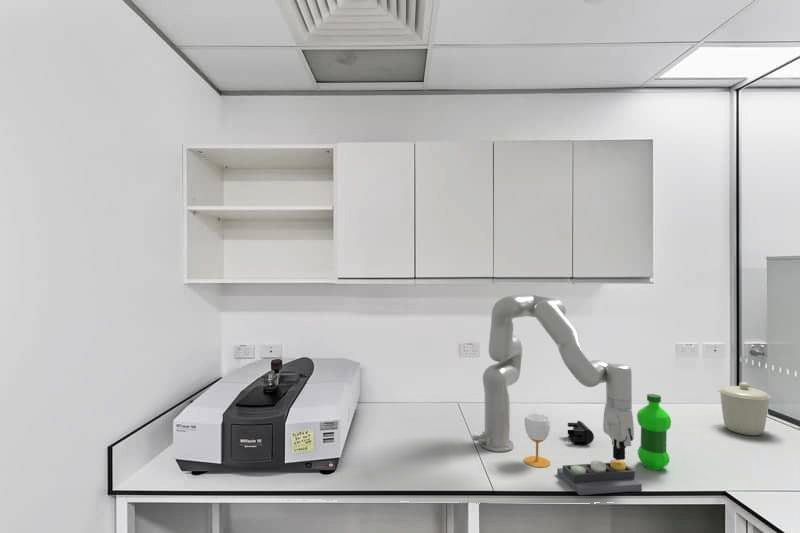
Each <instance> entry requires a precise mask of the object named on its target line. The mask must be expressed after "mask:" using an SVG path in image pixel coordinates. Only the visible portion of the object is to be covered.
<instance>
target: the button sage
mask: <svg viewBox="0 0 800 533" xmlns="http://www.w3.org/2000/svg"><path fill="white" fill-rule="evenodd" d="M572 465H573V466H571V471H572V472H573V473H574V474H582V473H586V469H585V468H584V467H582V466H578V465H579V464H572Z"/></svg>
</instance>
